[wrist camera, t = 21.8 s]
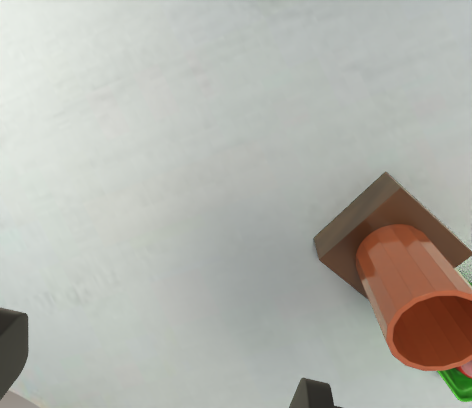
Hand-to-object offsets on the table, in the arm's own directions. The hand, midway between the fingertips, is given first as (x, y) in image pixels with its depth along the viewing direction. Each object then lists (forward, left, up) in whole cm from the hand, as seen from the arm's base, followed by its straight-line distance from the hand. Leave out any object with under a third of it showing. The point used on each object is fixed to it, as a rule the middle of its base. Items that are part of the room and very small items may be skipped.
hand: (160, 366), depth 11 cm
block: (-3, +16, -24) cm, 29 cm away
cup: (-3, +16, -20) cm, 26 cm away
